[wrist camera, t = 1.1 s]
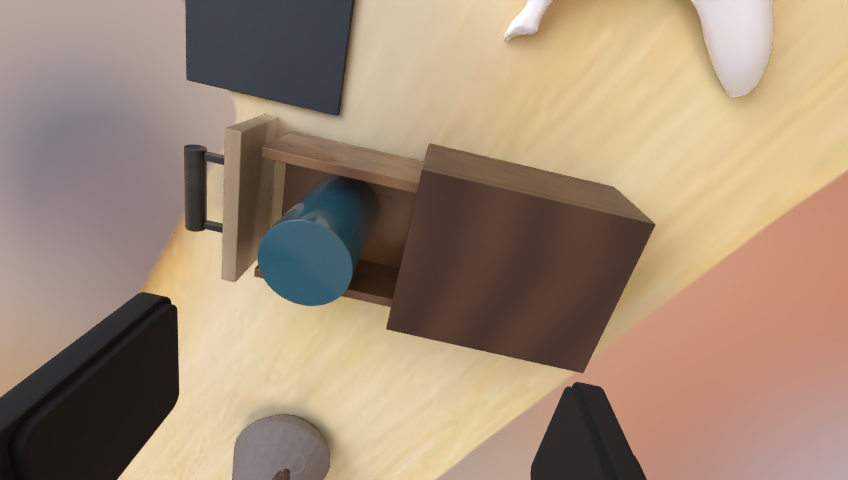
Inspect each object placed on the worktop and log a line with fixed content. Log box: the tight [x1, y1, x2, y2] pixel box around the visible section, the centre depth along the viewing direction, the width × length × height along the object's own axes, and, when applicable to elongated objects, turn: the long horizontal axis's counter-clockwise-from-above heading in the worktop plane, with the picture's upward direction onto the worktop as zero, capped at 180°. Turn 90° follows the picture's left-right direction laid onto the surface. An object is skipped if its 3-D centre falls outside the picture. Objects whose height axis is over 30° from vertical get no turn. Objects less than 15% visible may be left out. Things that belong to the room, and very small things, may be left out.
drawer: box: [184, 114, 424, 307], centre depth 36 cm, size 20×13×7 cm, turn 78°
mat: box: [186, 0, 354, 115], centre depth 34 cm, size 13×13×1 cm
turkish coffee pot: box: [232, 415, 330, 480], centre depth 45 cm, size 21×12×15 cm, turn 153°
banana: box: [504, 0, 773, 97], centre depth 31 cm, size 5×19×15 cm
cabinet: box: [386, 144, 655, 373], centre depth 37 cm, size 17×14×9 cm
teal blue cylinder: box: [257, 174, 380, 306], centre depth 34 cm, size 8×6×11 cm
